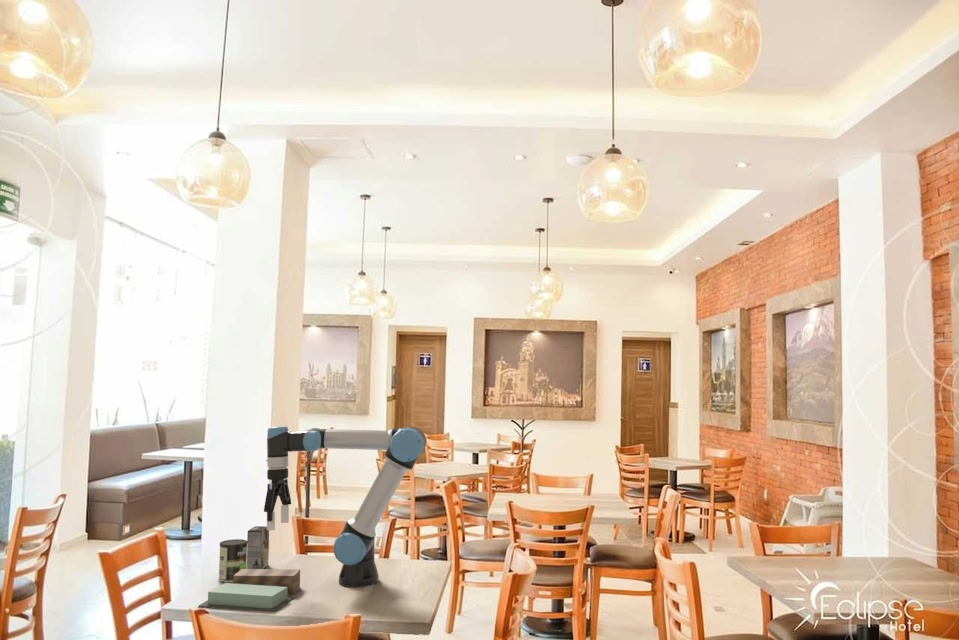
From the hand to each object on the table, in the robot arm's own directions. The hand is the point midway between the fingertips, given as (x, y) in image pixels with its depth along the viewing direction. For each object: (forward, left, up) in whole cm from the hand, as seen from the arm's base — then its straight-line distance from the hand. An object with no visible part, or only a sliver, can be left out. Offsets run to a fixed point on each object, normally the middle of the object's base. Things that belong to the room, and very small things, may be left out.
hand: (278, 526), depth 257 cm
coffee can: (+24, -13, -24) cm, 36 cm away
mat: (+4, +14, -23) cm, 28 cm away
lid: (+4, +15, -23) cm, 27 cm away
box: (+3, +1, -24) cm, 24 cm away
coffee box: (+22, -30, -24) cm, 44 cm away
